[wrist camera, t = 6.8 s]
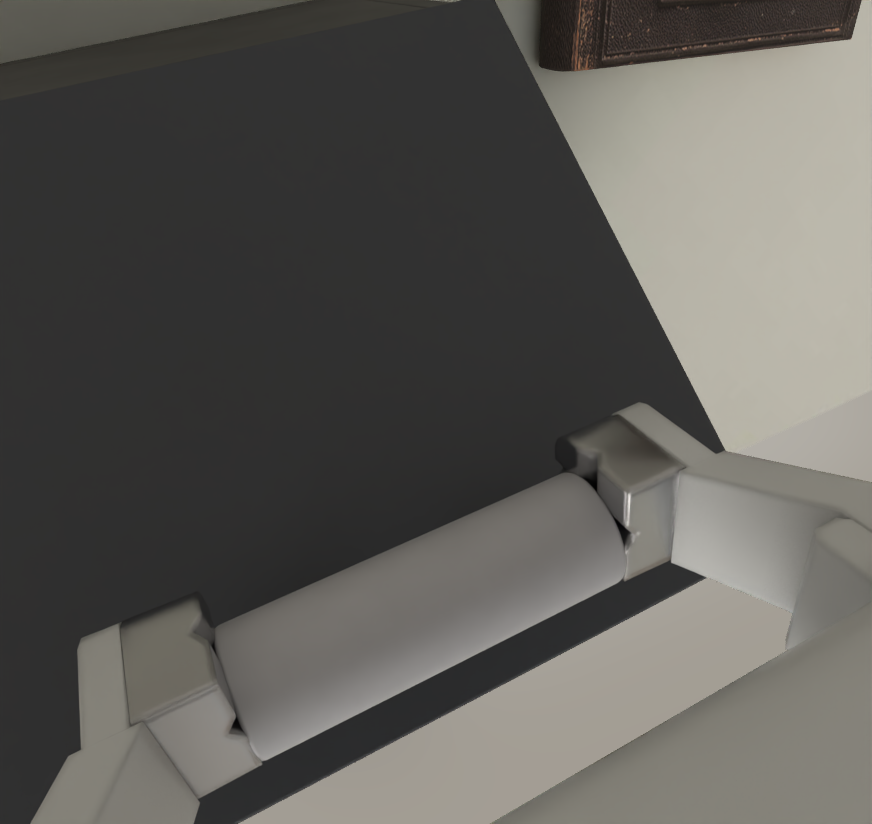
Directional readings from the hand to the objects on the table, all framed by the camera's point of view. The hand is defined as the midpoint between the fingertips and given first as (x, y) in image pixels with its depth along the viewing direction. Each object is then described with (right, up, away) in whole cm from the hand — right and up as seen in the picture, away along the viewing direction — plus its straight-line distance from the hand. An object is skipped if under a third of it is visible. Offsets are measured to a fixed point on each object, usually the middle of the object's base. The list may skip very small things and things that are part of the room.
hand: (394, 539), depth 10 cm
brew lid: (-2, +3, +4) cm, 6 cm away
